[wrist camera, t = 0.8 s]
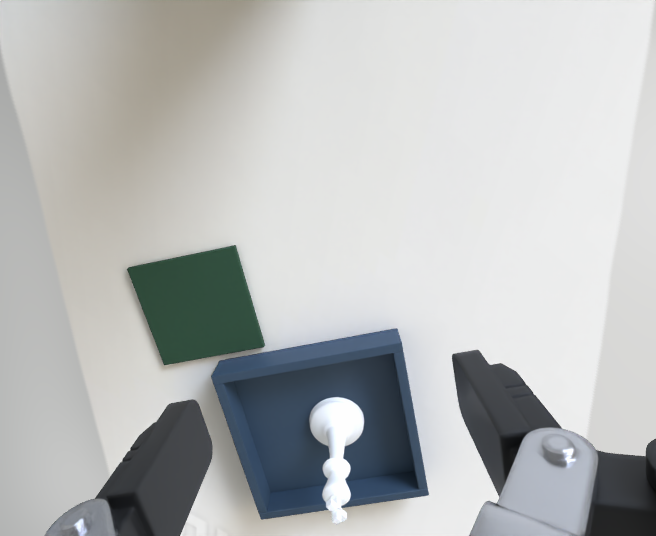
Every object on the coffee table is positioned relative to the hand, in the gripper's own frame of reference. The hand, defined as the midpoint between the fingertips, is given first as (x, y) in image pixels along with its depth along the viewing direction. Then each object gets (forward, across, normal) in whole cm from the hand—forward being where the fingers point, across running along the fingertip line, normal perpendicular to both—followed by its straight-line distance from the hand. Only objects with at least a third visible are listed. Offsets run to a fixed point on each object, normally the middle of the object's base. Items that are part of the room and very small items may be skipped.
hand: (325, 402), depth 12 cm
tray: (+20, +4, +16) cm, 26 cm away
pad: (+20, +12, +2) cm, 23 cm away
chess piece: (+20, +3, +16) cm, 26 cm away
